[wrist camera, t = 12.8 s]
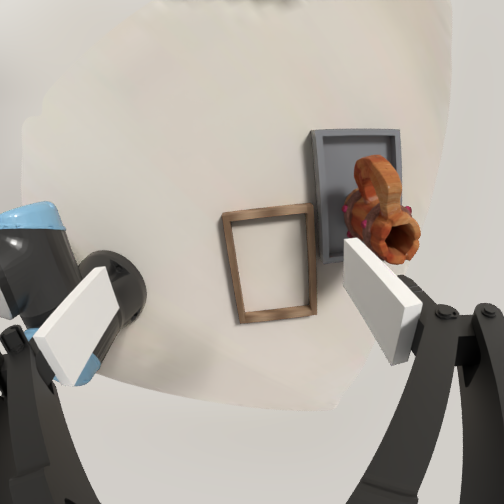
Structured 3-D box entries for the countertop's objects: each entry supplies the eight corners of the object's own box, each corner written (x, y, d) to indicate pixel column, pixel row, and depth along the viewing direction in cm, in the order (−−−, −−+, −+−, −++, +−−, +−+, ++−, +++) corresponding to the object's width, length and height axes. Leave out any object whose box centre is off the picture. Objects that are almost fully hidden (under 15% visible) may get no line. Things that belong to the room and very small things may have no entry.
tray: (319, 256, 48) (323, 264, 45) (310, 130, 40) (314, 129, 37) (391, 247, 48) (399, 254, 45) (391, 129, 40) (399, 129, 37)
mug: (386, 229, 45) (433, 266, 31) (344, 243, 46) (379, 287, 32) (369, 145, 40) (419, 151, 26) (321, 157, 41) (356, 168, 27)
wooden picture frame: (240, 317, 53) (240, 323, 51) (223, 212, 45) (221, 216, 43) (314, 308, 52) (316, 314, 50) (310, 202, 45) (313, 205, 43)
